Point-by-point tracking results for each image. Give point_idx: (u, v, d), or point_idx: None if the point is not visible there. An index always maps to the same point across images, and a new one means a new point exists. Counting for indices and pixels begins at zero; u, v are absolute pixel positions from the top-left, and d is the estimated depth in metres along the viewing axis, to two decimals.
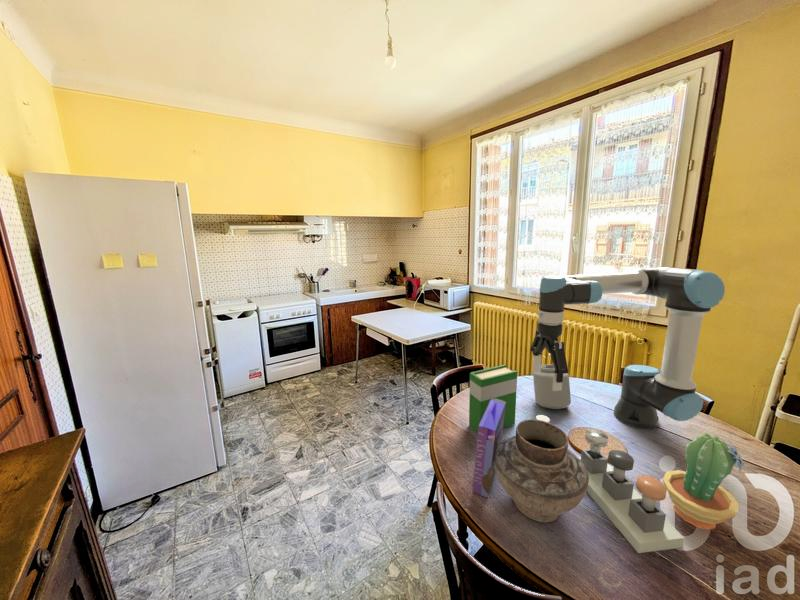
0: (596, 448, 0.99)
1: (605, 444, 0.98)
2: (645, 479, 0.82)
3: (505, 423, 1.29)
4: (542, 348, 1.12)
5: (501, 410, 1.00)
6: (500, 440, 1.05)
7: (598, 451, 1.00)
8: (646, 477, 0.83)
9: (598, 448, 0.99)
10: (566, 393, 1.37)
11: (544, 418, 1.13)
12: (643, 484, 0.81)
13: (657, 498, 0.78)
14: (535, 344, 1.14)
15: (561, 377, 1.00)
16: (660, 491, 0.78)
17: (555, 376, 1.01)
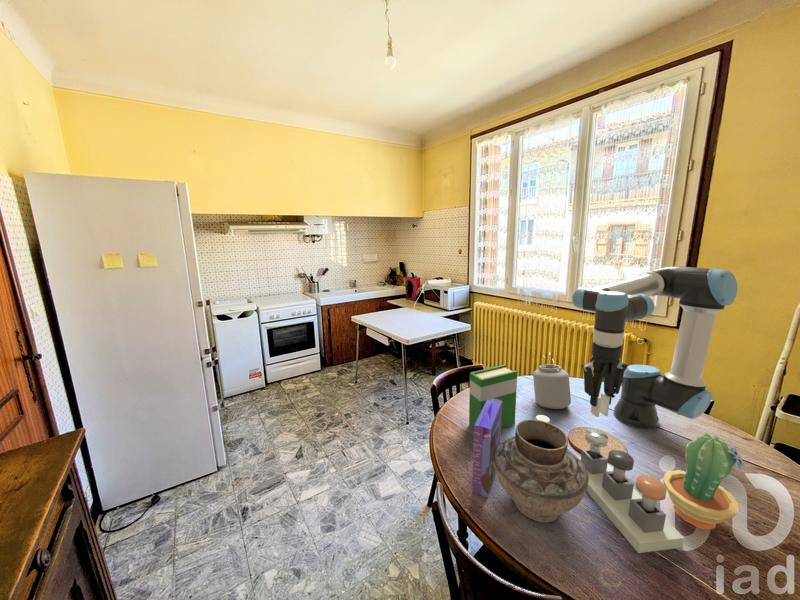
0: (596, 448, 0.99)
1: (605, 444, 0.98)
2: (645, 479, 0.82)
3: (505, 423, 1.29)
4: (607, 380, 0.96)
5: (497, 409, 1.00)
6: (498, 440, 1.06)
7: (598, 451, 1.00)
8: (646, 477, 0.83)
9: (598, 448, 0.99)
10: (566, 393, 1.37)
11: (544, 418, 1.13)
12: (643, 484, 0.81)
13: (657, 498, 0.78)
14: (613, 379, 0.97)
15: (592, 400, 0.97)
16: (660, 491, 0.78)
17: None
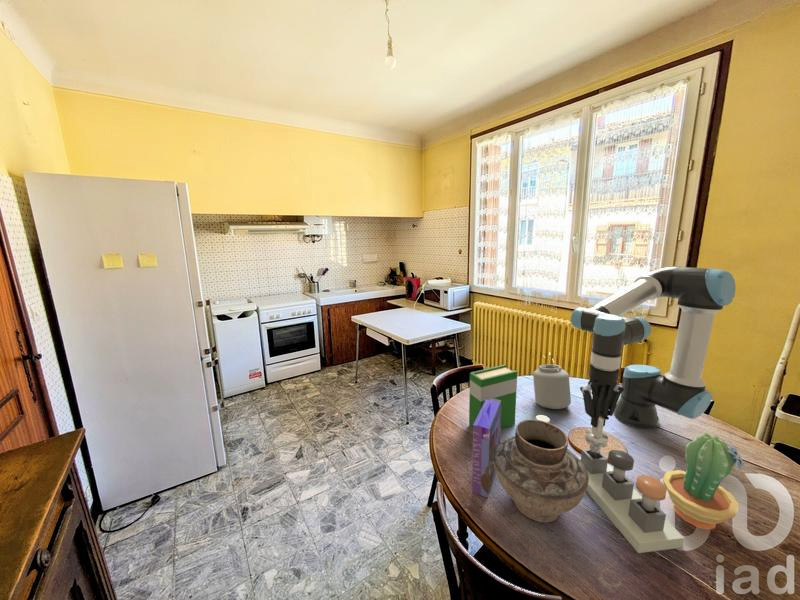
0: (596, 448, 0.99)
1: (605, 444, 0.98)
2: (645, 479, 0.82)
3: (505, 423, 1.29)
4: (603, 402, 0.97)
5: (496, 409, 1.01)
6: (498, 439, 1.06)
7: (598, 451, 1.00)
8: (646, 477, 0.83)
9: (598, 448, 0.99)
10: (566, 393, 1.37)
11: (544, 418, 1.13)
12: (643, 484, 0.81)
13: (657, 498, 0.78)
14: (608, 400, 0.98)
15: (593, 421, 0.98)
16: (660, 491, 0.78)
17: None
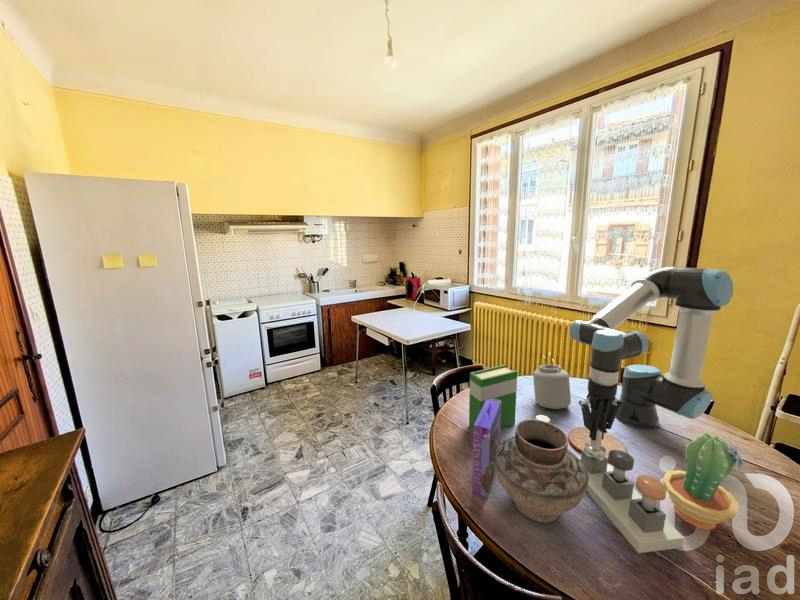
0: None
1: (603, 457, 0.99)
2: (645, 479, 0.82)
3: (505, 423, 1.29)
4: (601, 415, 0.98)
5: (496, 409, 1.01)
6: (498, 439, 1.06)
7: None
8: (646, 477, 0.83)
9: None
10: (566, 393, 1.37)
11: (544, 418, 1.13)
12: (643, 484, 0.81)
13: (657, 498, 0.78)
14: None
15: (591, 434, 0.99)
16: (660, 491, 0.78)
17: None
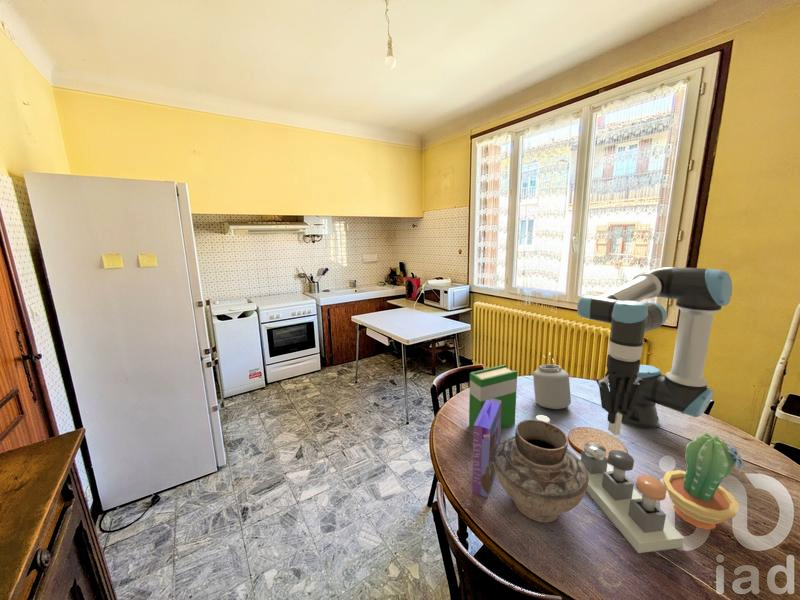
0: None
1: (603, 457, 0.99)
2: (645, 479, 0.82)
3: (505, 423, 1.29)
4: (621, 396, 0.89)
5: (496, 409, 1.01)
6: (498, 439, 1.06)
7: None
8: (646, 477, 0.83)
9: None
10: (566, 393, 1.37)
11: (544, 418, 1.13)
12: (643, 484, 0.81)
13: (657, 498, 0.78)
14: (627, 395, 0.90)
15: (610, 416, 0.90)
16: (660, 491, 0.78)
17: None
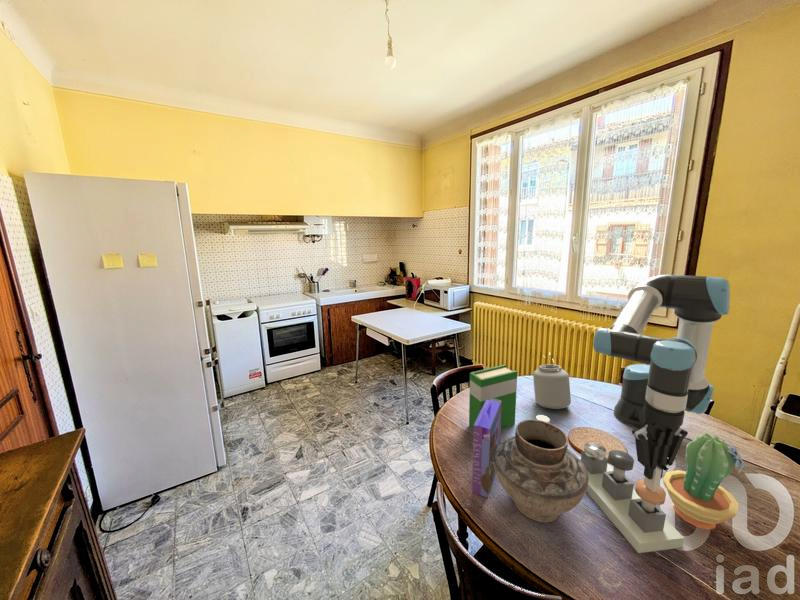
0: None
1: (603, 457, 0.99)
2: None
3: (505, 423, 1.29)
4: (661, 448, 0.78)
5: (496, 409, 1.01)
6: (498, 439, 1.06)
7: None
8: None
9: None
10: (566, 393, 1.37)
11: (544, 418, 1.13)
12: (642, 488, 0.81)
13: (656, 503, 0.78)
14: None
15: (647, 471, 0.79)
16: (659, 495, 0.78)
17: None
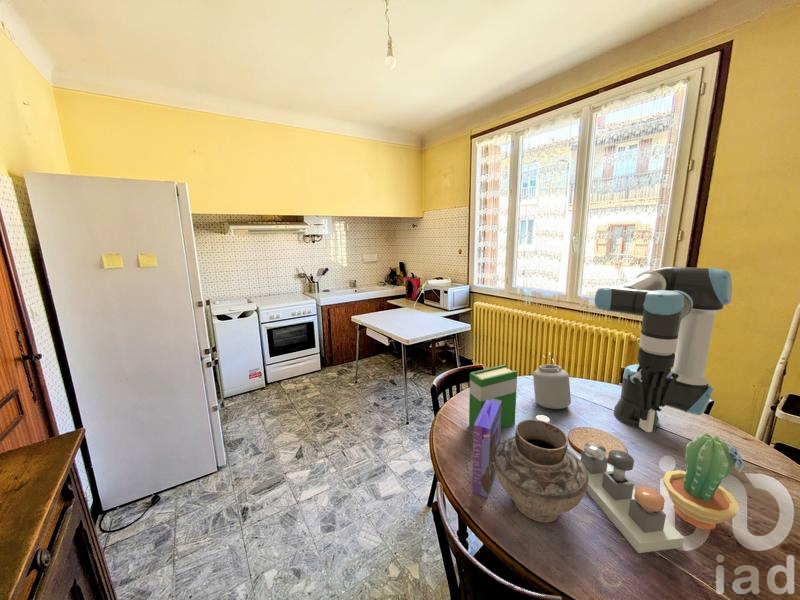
0: None
1: (603, 457, 0.99)
2: (644, 490, 0.83)
3: (505, 423, 1.29)
4: (654, 391, 0.84)
5: (496, 409, 1.01)
6: (498, 439, 1.06)
7: None
8: (644, 488, 0.83)
9: None
10: (566, 393, 1.37)
11: (544, 418, 1.13)
12: (641, 494, 0.81)
13: (655, 510, 0.79)
14: None
15: (642, 413, 0.86)
16: (658, 502, 0.79)
17: None
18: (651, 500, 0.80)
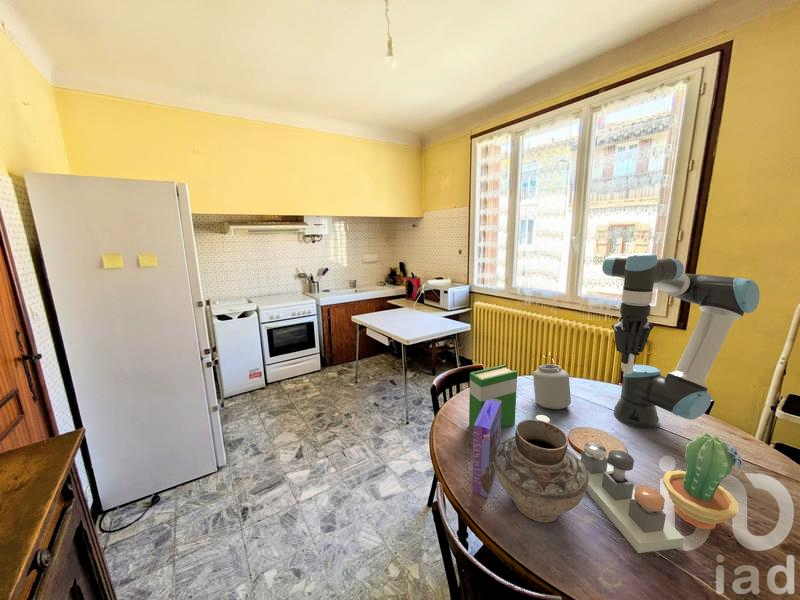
0: None
1: (603, 457, 0.99)
2: (644, 490, 0.83)
3: (505, 423, 1.29)
4: (634, 339, 1.01)
5: (496, 409, 1.01)
6: (498, 439, 1.06)
7: None
8: (644, 488, 0.83)
9: None
10: (566, 393, 1.37)
11: (544, 418, 1.13)
12: (641, 494, 0.81)
13: (655, 510, 0.79)
14: None
15: (623, 358, 1.03)
16: (658, 502, 0.79)
17: None
18: (651, 500, 0.80)
